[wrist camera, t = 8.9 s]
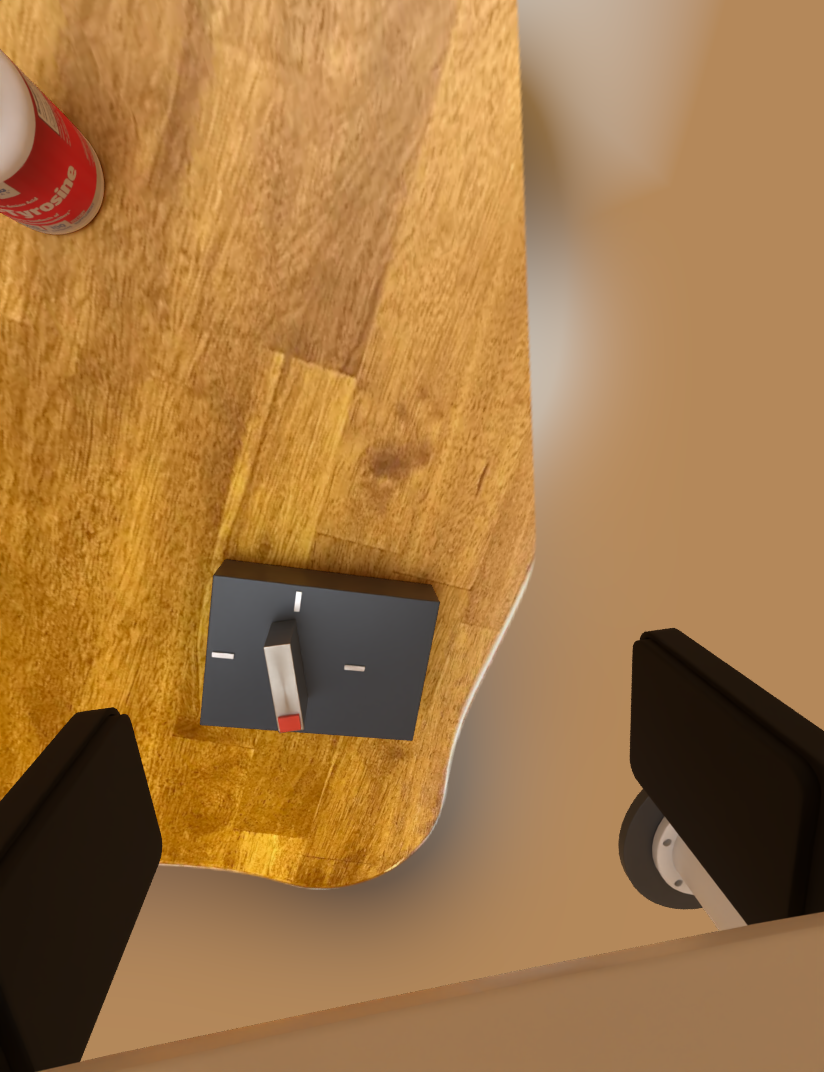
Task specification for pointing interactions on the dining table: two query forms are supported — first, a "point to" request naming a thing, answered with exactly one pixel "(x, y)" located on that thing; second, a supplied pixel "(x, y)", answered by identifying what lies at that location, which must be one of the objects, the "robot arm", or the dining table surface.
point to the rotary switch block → (319, 649)
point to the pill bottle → (43, 160)
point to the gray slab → (286, 676)
